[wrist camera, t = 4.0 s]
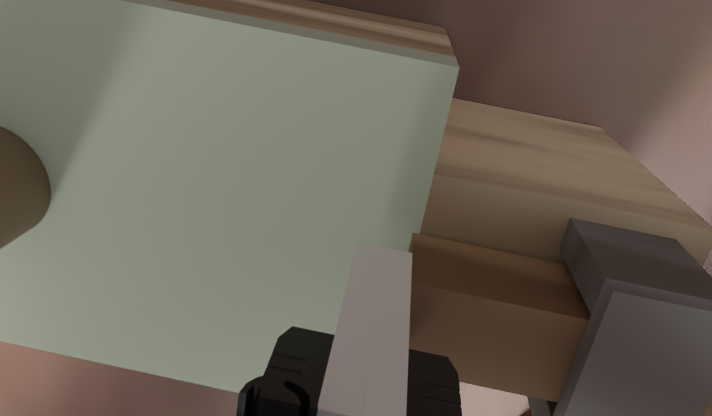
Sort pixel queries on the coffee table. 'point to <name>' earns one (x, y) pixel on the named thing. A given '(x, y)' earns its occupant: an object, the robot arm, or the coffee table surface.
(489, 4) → the coffee table surface
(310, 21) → the toolbox
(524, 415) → the music box
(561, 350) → the tan wooden beam
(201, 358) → the lid
